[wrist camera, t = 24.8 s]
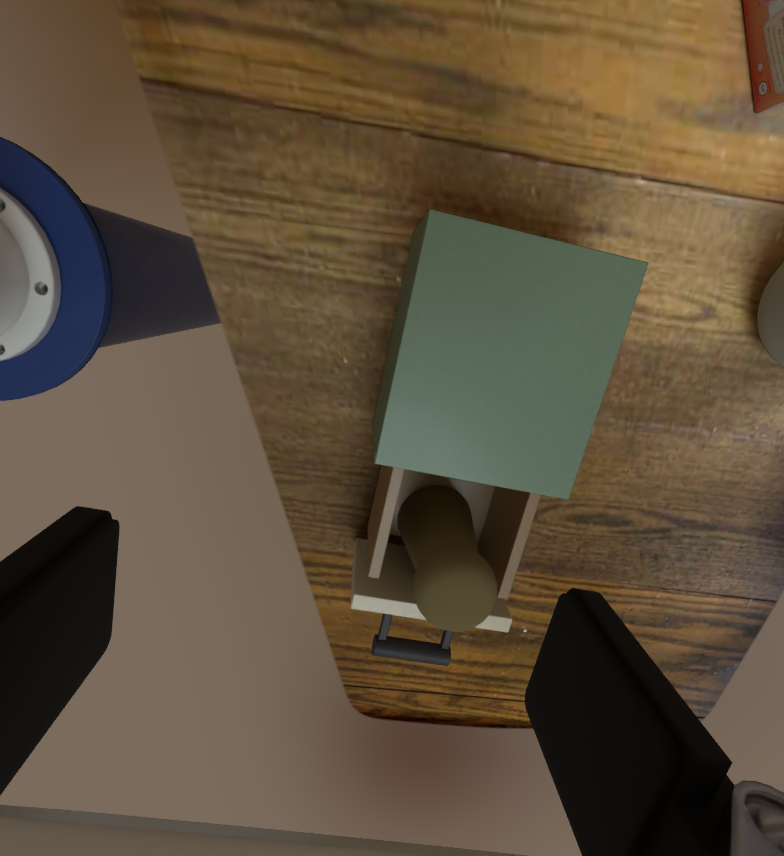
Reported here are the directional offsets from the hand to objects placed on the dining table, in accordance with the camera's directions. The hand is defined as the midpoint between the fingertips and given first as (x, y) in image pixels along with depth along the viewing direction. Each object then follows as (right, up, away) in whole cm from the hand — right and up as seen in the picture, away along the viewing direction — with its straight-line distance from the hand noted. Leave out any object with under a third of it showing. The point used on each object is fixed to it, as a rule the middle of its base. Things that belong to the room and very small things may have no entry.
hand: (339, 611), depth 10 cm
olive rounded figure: (+4, -4, +29) cm, 29 cm away
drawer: (+4, -4, +30) cm, 30 cm away
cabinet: (+7, +10, +27) cm, 30 cm away
